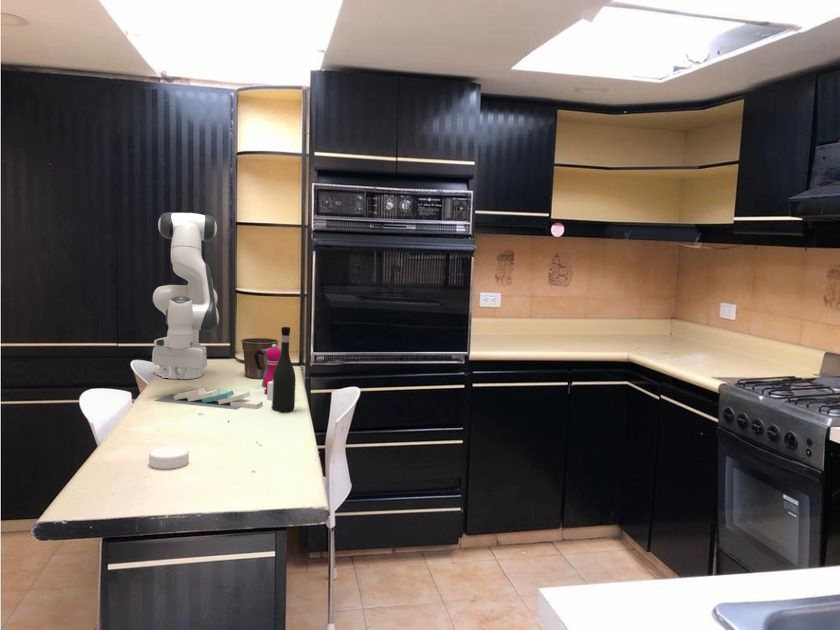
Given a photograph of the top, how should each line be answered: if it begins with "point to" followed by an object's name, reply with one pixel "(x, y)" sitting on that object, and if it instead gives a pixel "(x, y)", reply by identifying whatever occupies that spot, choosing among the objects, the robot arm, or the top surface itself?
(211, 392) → the ivory domino
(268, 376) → the pepper mill
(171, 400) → the slate mat
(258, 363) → the coffeepot
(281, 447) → the top surface
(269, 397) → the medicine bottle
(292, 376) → the wine bottle
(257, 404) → the ivory domino
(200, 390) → the ivory domino
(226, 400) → the ivory domino
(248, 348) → the plant pot
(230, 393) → the teal domino
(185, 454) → the coaster
